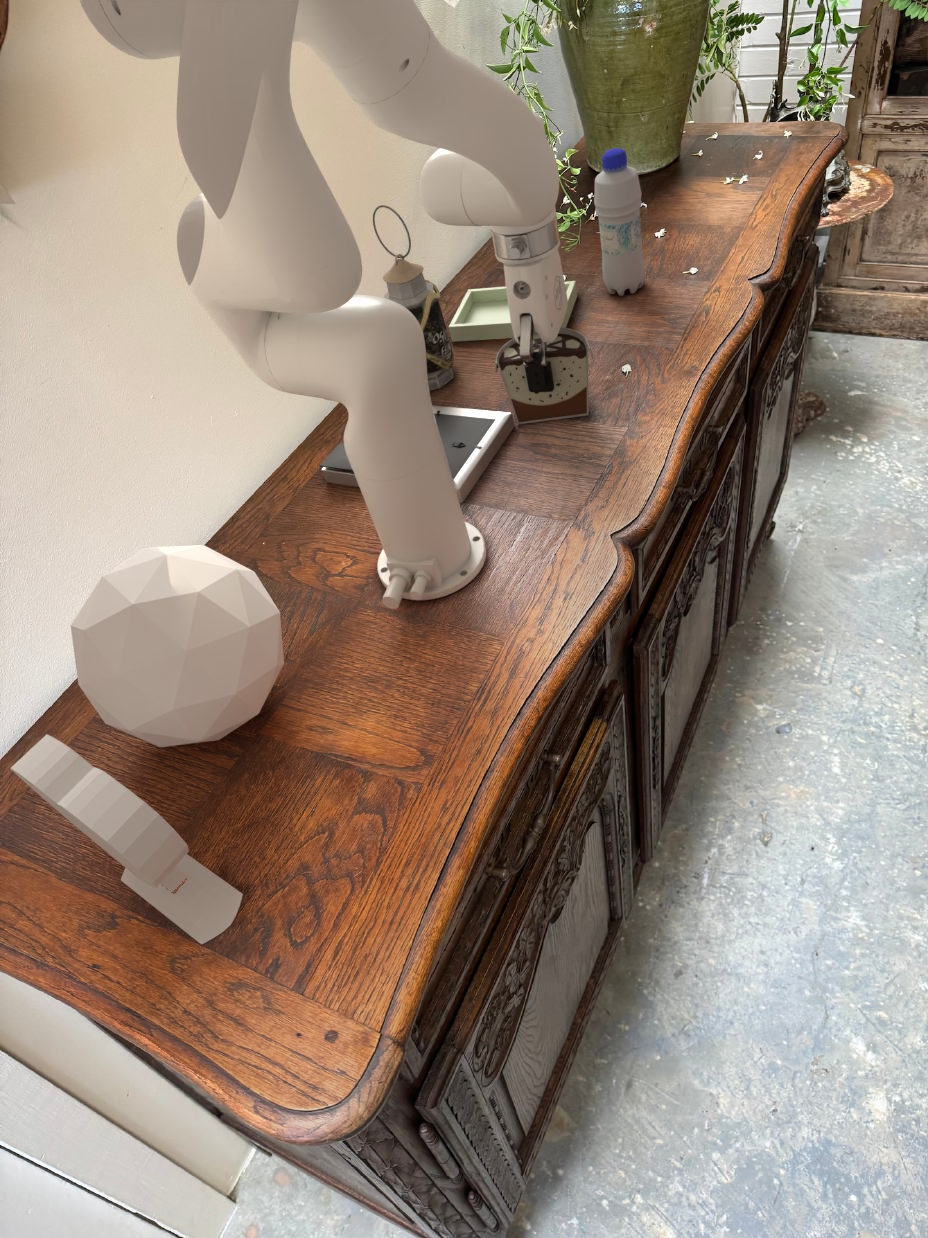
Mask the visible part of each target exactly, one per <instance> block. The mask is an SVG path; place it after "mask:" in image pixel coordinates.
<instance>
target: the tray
mask: <svg viewBox="0 0 928 1238" xmlns="http://www.w3.org/2000/svg"><path fill="white" fill-rule="evenodd" d="M576 281H577V280H569V281H568V280H567V281H564V282H565V287H566V293H567V299H568V307H567V311H566V314H565V317H564V320H563V322H562V325H561V327H562V328H567V326H568V323H569V320H570V317H571V315H572V312H573V309H574V307H575V304H576V301H577V298H578V289H577V282H576ZM448 332H449V335H450V336H449V337H450V339H451V340H450V341H451V342H452V343H454V342H455V343H456V342H471V341H487V340H488V341H490V340H502V339H503V340H504V339H505V340H506V339H513V338H515V337H514V334H513V329H512V324H511V319H510V313H509V306H508V299H507V292H506V285H504V286H496V287H495V286H493V287H482V288H481V287H480V288H469V289H467V291H466V293H465V295H464V296H463V298H462V300H461V302H460V304H459V306H458V308H457V310H456V312H455V313H454V315H453V317H452V319H451V321H450V323H449V325H448Z"/></svg>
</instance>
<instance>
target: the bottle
mask: <svg viewBox="0 0 928 1238" xmlns="http://www.w3.org/2000/svg"><path fill="white" fill-rule="evenodd" d="M601 164H602V165H601V167H602V171H601V172H599V173H598V174H597V175H596V176H595V178H594V197H593V198H594V199H593V203H594V207H595V210H594V211H595V214H596V216H597V218H598V226H599V227H598V228H599V237H600V246H601V263H602V265H601V268H602V280H603V282H604V285H605V288H606V290H607V292H608V293H609V294H610V295H614V294H616V293H617V294H618V296H619V297H622V296H625V291H626V290H629V293H630V294H634V293H636V292H637V290H638V289H642V287H643V286H644V283H645V279H646V268H645V259H644V252H643V240H642V239H643V237H642V223H641V207H642V204H643V201H642V194H643V193H642V189H641V185H640V184H641V183H640V178H639V173H638V170H637V169H636V168H634V167H633V166H628V157H627V152H626V151H625V150H624V148H621V147H614V148H610V149H608V150H606V151H605V152H604V153H603V155H602V156H601Z"/></svg>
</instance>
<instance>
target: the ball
mask: <svg viewBox="0 0 928 1238" xmlns="http://www.w3.org/2000/svg"><path fill="white" fill-rule="evenodd" d="M281 620H282V619H281V611H280V610H279V608H278V606H277V605H276V604H275V602H274V601H273V598H272V597H271V595H270V594H269V592H268V591H267V589H266V588H265V586H264V585H263V583H262V581H261V579H260V578H259V577H258V575H257V574H256V572H255V571H254V570H252V569H250V568H248V567H247V566H244V565H243V564H241V563H239V562H237V561H235V560H233V559H232V558H229V557H228V556H225V555H223V554H222V553H220V552H218V551H216V550H214V549H213V548H210V547H208V546H206V545H205V544H196V545H194V544H193V545H173V546H172V545H171V546H170V545H169V546H150V547H149V546H148V547H147V546H146V547H142V548H141V549H139V550H137V552H135V553H134V554H132V555H131V556H129V557H127V559H125V560H124V561H122V562H120V563H119V564H118V565H116V566H115V567H113V568H112V569H111V570H109V571H108V572H107V573H105V574H103V575H102V576H101V577H100V579H99V581H98V582H97V583H96V586H95V587H94V589H92V592H91V593H90V595H89V596H88V598H87V599H86V601H85V602H84V603H83V605H82V607H81V609H80V610H79V612H78V613H77V614H76V616H75V617H74V619H73V621H72V622H71V624H70V631H71V638H72V647H73V653H74V663H75V669H76V676H77V677H76V678H77V684H78V687H79V688H80V689H81V691H82V692H83V694H84V695H85V696H86V698H87V699H88V701H89V702H90V704H91V705H92V707H93V708H94V710H95V711H96V712H97V714H98V715H99V716H100V718H101V719H102V721H103V722H104V724H105V725H108V726H110V727H112V728H115V729H117V730H119V731H122V732H123V733H126V734H128V735H131V736H133V737H135V738H137V739H140V740H141V741H144V742H147V743H149V744H151V745H154V746H155V747H159V748H167V747H174V746H175V747H176V746H183V745H191V744H199V743H200V744H201V743H207V742H215V741H220V740H222V739H223V738H225V737H227V735H229V734H231V733H232V732H233V731H235V730H236V729H238V728H240V727H241V726H242V725H245V724H246V723H247V722H249V721H250V720H251V719H253V718H255V717H256V716H258V715H259V714H260V712H261V710H262V708H263V707H264V705H265V703H266V700H267V699H268V697H269V695H270V692H271V691H272V688H273V687H274V685H275V684H276V681H277V679H278V677H279V675H280V674H281V671H282V670H283V667H284V665H285V659H284V644H283V634H282V633H283V632H282V621H281Z"/></svg>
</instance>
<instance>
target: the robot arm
mask: <svg viewBox="0 0 928 1238" xmlns="http://www.w3.org/2000/svg"><path fill="white" fill-rule="evenodd" d="M79 3H80V5H81V8H82V9H83V11H84V13H85V15H86V17H87V19H88V20H89V22H90V23H91V24H92V26H93V27H94V28H95V30H96V31H97V32H98V33H99V34H100V35H101V37H103V38H104V39H105V40H106V42H107V43H109V44H110V45H111V46H113V47H114V48H116V49H117V50H118V51H120V52H122V53H124V54H127V55H128V56H131V57H135V58H137V59H139V60H160V59H167V58H175V57H179V63H178V75H177V76H178V78H177V93H176V130H177V138H178V142H179V146H180V150H181V153H182V156H183V158H184V161H185V163H186V166H187V168H188V170H189V172H190V174H191V176H192V178H193V180H194V181H195V183H196V184H197V186H198V188H199V190H200V191H201V193H199V194H198V195H197V196H195V197H193V199H191V201H190V202H189V203H188V204H186V206H185V208H184V210H183V211H182V213H181V216H180V218H179V221H178V226H177V231H176V248H177V249H176V250H177V255H178V260H179V265H180V267H181V271H182V274H183V277H184V279H185V281H186V283H187V285H188V287H189V290H190V291H191V292H192V294H193V296H194V298H196V300H197V302H198V303H199V304H200V305H201V307H202V308H203V310H204V311H205V312H206V314H207V315H208V317H209V318H210V319H211V320H212V321H213V323H214V324H215V326H217V328H218V329H219V331H220V332H221V333H222V335H223V336H224V338H226V341H228V342H229V344H230V346H232V347H233V349H234V350H235V351H236V353H237V354H238V355H239V356H240V358H241V359H242V361H243V362H244V363H245V364H246V365H247V367H248V368H249V370H251V371H252V372H253V374H254V375H256V377H257V378H258V379H259V380H261V382H263V383H264V384H265V385H267V386H268V387H270V388H272V389H274V390H277V391H279V392H282V393H287V394H292V395H299V396H304V397H311V398H317V399H323V400H325V401H331V402H336V403H339V404H341V405H343V406H344V407H345V408H346V410H347V413H348V418H347V421H346V425H345V427H344V428H345V429H344V430H343V431H344V432H343V443H344V447H345V451H346V454H347V457H348V460H349V463H350V465H351V468H352V470H353V472H354V474H355V477H356V479H357V482H358V485H359V487H358V488H359V490H360V493H361V494H362V498H363V500H364V503H365V505H366V508H367V510H368V514H369V515H370V518H371V521H372V524H373V526H374V528H375V531H376V533H377V536H378V538H379V541H380V544H381V547H382V549H381V551H380V553H379V556H378V558H377V563H376V566H377V567H376V568H377V573H378V577H379V580H380V581H381V584H382V585H383V586H384V588H385V589H386V590H385V591H384V594H383V596H382V598H381V603H382V605H383V606H384V607H385V608H387V609H391V610H395V609H398V608H399V606H400V604H401V602H402V599H405V600H411V601H430V600H435V599H439V598H443V597H446V596H448V595H451V594H453V593H456V592H457V591H459V590H461V589H463V588H465V586H467V585H468V584H469V583H471V582H472V581H473V580H474V579H475V577H477V576H478V574H479V573H480V572H481V571H482V569H483V567H484V566H485V565H484V564H485V562H486V559H487V546H486V542H485V539H484V536H483V534H482V532H481V531H480V530H479V529H478V528H477V527H476V526H474V525H473V524H471V523H469V522H467V521H466V520H465V518H464V515H463V511H462V507H461V502H459V500H458V496H457V493H456V489H455V486H454V482H453V479H452V475H451V472H450V468H449V465H448V461H447V458H446V454H445V451H444V447H443V443H442V440H441V437H440V434H439V430H438V427H437V423H436V419H435V415H434V411H433V407H432V406H433V403H432V399H431V392H430V391H429V385H428V376H427V361H426V348H425V340H424V335H423V332H422V329H421V326H420V324H419V322H418V321H417V319H416V318H415V316H414V315H413V314H412V313H411V312H410V311H409V310H408V309H406V308H405V307H404V306H402V305H400V304H398V303H396V302H394V301H391V300H389V299H385V298H384V297H381V296H377V295H370V294H361V293H360V294H359V293H357V292H358V290H359V287H360V284H361V282H362V277H363V261H362V256H361V251H360V249H359V246H358V243H357V241H356V237H355V235H354V233H353V231H352V229H351V226H350V224H349V222H348V220H347V218H346V216H345V214H344V213H343V211H342V209H341V206H340V205H339V203H338V201H337V199H336V198H335V195H334V193H333V192H332V190H331V187H330V186H329V184H328V182H327V180H326V179H325V176H324V175H323V173H322V171H321V169H320V167H319V165H318V163H317V161H316V160H315V158H314V156H313V153H312V151H311V150H310V148H309V146H308V143H307V141H306V139H305V137H304V135H303V133H302V131H301V129H300V127H299V124H298V121H297V118H296V114H295V111H294V108H293V103H292V102H293V101H292V95H291V83H290V81H291V77H290V75H291V73H290V72H291V58H292V49H293V43H295V42H299V43H302V44H305V45H307V46H308V47H309V48H310V49H311V50H312V51H313V53H314V54H315V55H316V57H317V58H318V59H319V60H320V61H321V62H322V63H323V64H324V66H325V67H326V68H327V70H328V71H329V72H330V73H331V74H332V76H333V77H334V78H335V79H336V80H337V82H338V83H339V84H340V86H341V87H342V88H343V89H344V90H345V92H346V93H347V94H348V96H349V97H350V98H351V99H352V101H353V102H354V103H355V105H357V107H358V108H359V110H360V111H361V112H362V113H363V115H364V116H365V117H366V118H367V119H368V120H369V121H370V122H371V123H372V124H373V125H375V126H376V127H377V128H380V129H382V130H383V131H386V132H387V133H390V134H393V135H395V136H398V137H400V138H403V139H405V140H409V141H412V142H415V143H417V144H423V145H425V146H430V147H434V148H438V149H437V150H436V151H434V152H433V153H432V154H431V155H430V156H429V158H428V159H427V160H426V162H425V164H424V165H423V167H422V170H421V172H420V176H419V180H418V181H419V182H418V194H419V200H420V203H421V205H422V208H423V209H424V211H425V213H426V214H427V215H428V216H429V217H430V218H431V219H432V220H434V221H436V222H438V223H440V224H443V225H447V226H454V227H455V226H456V227H489V229H490V234H491V239H492V244H493V249H494V256H495V259H496V260H497V261H498V262H500V263H502V264H503V273H504V283H505V286H506V292H507V299H508V306H509V313H510V319H511V324H512V329H513V334H514V337H515V340H516V342H517V343H518V344H520V357H521V358H522V359H523V364H524V367H525V372H526V377H527V383H528V388H529V391H530V392H552V391H553V390H554V381H553V375H552V369H551V362H550V361H547V342H549V343H552V342H553V341H554V340H555V339H556V337H557V335H558V333H559V330H560V328H561V325H562V322H563V320H564V317H565V314H566V311H567V307H568V299H567V293H566V287H565V282H566V281H565V277H564V272H563V266H562V261H561V256H560V252H559V248H560V245H561V239H560V232H559V225H558V224H559V223H558V216H557V210H556V209H557V208H556V204H557V201H558V198H559V193H560V175H559V168H558V163H557V160H556V156H555V154H554V151H553V148H552V146H551V144H550V142H549V139H548V138H547V134H546V129H545V123H544V122H543V119H542V117H541V116H540V115H539V114H538V113H537V112H535V111H534V110H531V108H530V106H529V105H528V104H527V103H526V102H525V101H524V100H523V99H522V98H521V97H520V96H519V95H518V94H517V93H516V92H515V91H513V90H512V89H510V88H509V87H508V86H507V85H505V84H504V83H503V82H501V81H500V80H498V79H497V78H495V77H493V76H492V75H490V74H489V73H487V72H486V71H485V70H483V69H482V68H480V67H478V66H477V65H476V64H474V63H473V62H471V61H469V60H468V59H466V58H464V57H463V56H460V55H459V54H457V53H455V52H454V51H452V50H450V49H449V48H447V47H446V46H444V45H443V44H442V43H441V42H440V40H439V39H438V37H437V36H436V34H435V33H434V31H433V29H432V28H431V26H430V25H429V22H428V21H427V19H426V18H425V17H424V15H423V13H422V12H421V10H420V8H419V7H418V6H417V4H416V2H415V1H414V0H79ZM533 334H538V335H539V337H540V338H539V339H533ZM537 344H540V353H541V355H540V354H539V353H538V352H534V349H533V345H537Z"/></svg>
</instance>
